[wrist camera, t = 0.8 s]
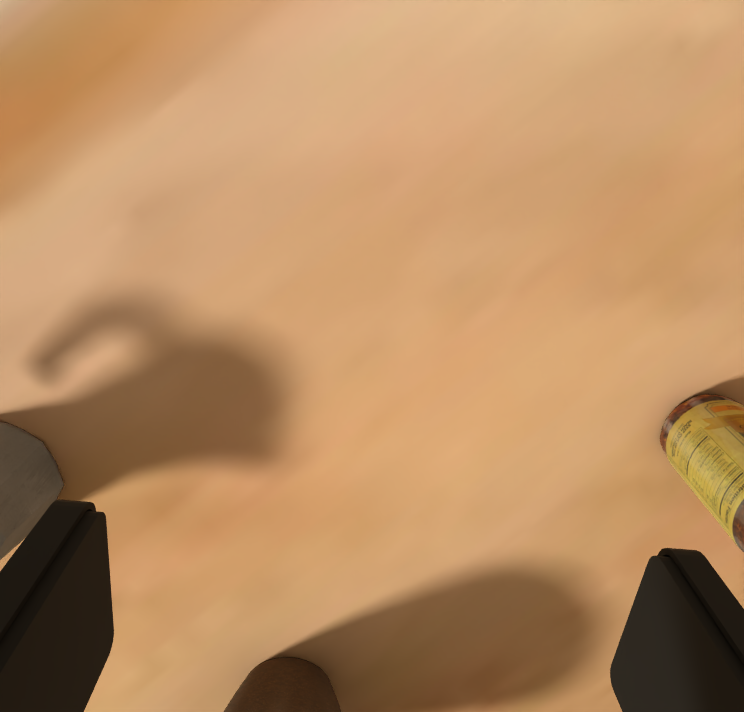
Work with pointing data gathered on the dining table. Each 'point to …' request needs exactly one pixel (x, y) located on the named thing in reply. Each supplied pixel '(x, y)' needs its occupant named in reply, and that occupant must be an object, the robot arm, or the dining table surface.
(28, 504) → the coffeepot
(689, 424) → the sauce bottle
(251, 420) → the dining table surface
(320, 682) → the brown wooden cup
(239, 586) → the dining table surface
